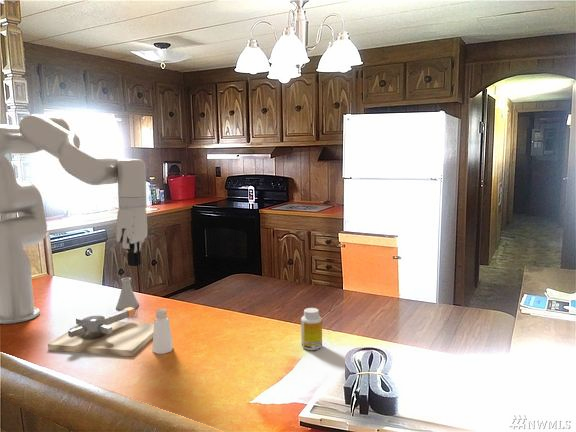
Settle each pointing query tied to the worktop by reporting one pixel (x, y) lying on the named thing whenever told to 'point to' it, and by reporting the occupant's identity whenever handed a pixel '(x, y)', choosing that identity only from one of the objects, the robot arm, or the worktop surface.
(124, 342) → the wooden flat board
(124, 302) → the flask
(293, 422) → the worktop surface
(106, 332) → the capstan
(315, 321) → the supplement bottle
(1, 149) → the robot arm
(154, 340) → the pepper shaker
